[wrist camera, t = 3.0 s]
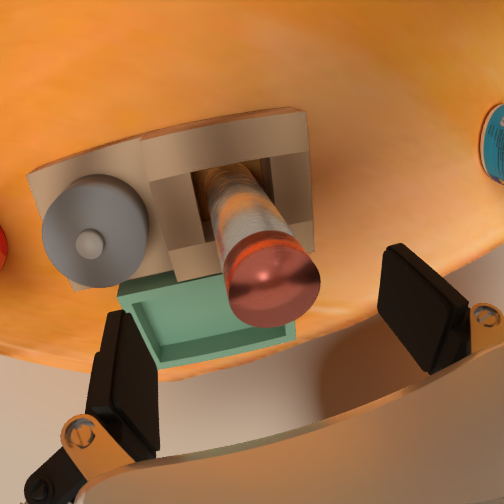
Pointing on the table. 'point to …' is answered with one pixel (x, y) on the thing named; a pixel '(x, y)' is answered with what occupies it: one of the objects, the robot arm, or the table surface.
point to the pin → (258, 251)
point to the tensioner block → (165, 196)
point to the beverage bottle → (493, 144)
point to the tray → (192, 320)
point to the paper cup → (2, 248)
